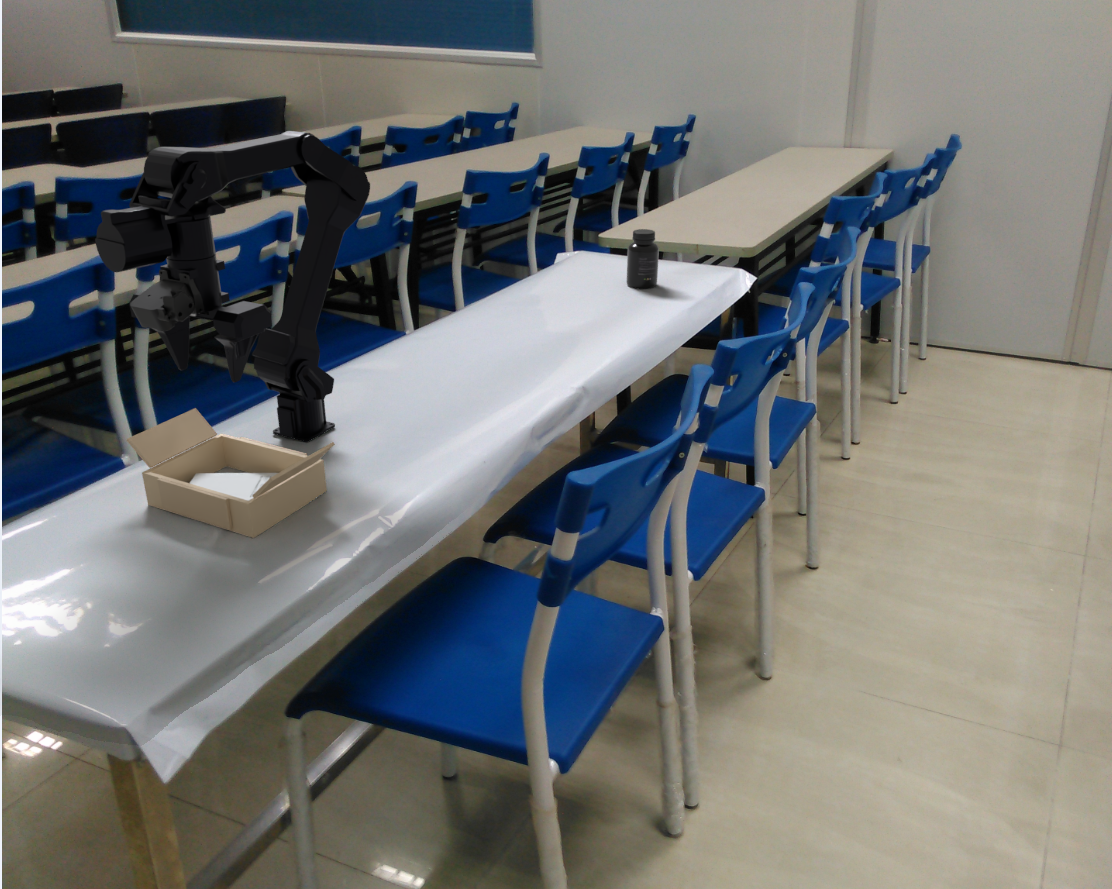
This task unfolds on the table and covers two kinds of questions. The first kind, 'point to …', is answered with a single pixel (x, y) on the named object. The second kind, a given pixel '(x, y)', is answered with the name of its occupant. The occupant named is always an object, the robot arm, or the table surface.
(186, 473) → the carton
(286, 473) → the flap
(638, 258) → the supplement bottle
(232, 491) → the external hard drive
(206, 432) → the flap
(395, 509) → the table surface
